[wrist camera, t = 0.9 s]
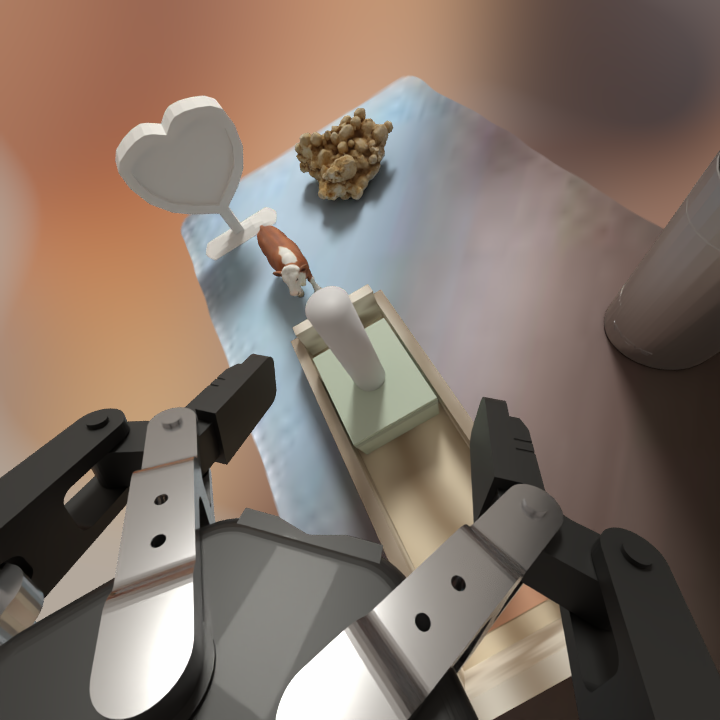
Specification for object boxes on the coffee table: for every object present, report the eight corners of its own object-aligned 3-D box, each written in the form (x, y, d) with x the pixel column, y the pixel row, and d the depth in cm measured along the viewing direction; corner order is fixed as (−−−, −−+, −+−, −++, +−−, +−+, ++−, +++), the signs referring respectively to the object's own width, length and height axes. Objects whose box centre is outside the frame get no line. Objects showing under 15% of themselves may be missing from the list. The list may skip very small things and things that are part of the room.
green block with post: (392, 340, 38) (351, 227, 24) (440, 413, 34) (427, 328, 19) (328, 376, 39) (248, 287, 24) (366, 455, 34) (295, 404, 19)
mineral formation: (301, 176, 58) (375, 127, 57) (336, 229, 54) (417, 176, 52) (280, 135, 50) (365, 77, 49) (319, 192, 46) (412, 130, 45)
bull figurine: (307, 324, 44) (278, 287, 37) (273, 263, 51) (243, 222, 44) (335, 307, 44) (312, 266, 37) (297, 248, 51) (271, 204, 44)
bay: (387, 308, 42) (377, 278, 37) (597, 616, 25) (633, 641, 20) (304, 356, 42) (282, 333, 37) (459, 692, 25) (460, 737, 20)
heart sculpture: (205, 266, 54) (103, 164, 39) (198, 249, 57) (99, 145, 41) (286, 216, 55) (217, 93, 39) (275, 200, 57) (206, 79, 41)
